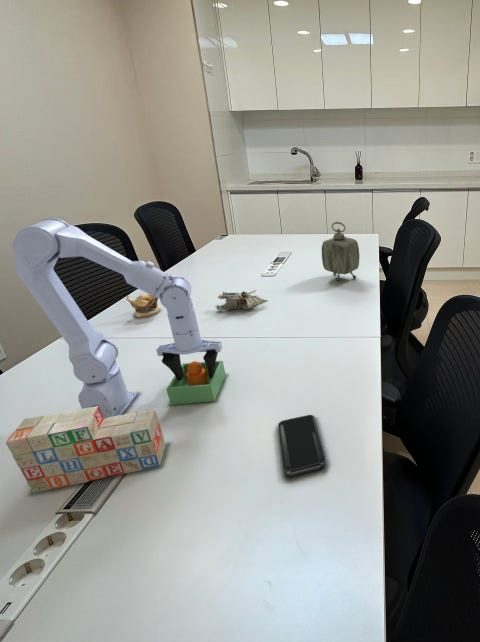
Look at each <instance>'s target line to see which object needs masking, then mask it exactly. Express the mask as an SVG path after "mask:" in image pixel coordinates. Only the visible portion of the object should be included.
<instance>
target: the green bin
mask: <svg viewBox="0 0 480 642" xmlns="http://www.w3.org/2000/svg"><path fill="white" fill-rule="evenodd" d="M198 362H199V363H200V364H201V365H202V368H204V369H205V371H206V376H207V380H208V385H195V386H189V384H188V380H187V376H186V374H187V372H188V371H187V367H188V365H189V364H190V363H191V362H183V363H181V366H182V369H183V374H184V376H183V378H182V380H181V381H178V379H177V378H176V376H175V375H174V376H173V378H172V379H171V381H170V382H169V384H168V386H167V387H166V393H167V396H168V401H169V403H170V406H172V405H173V406H174V405H184V404H197V403H209V402H210V403H211V402H215V401H216V399H217V396H218V394H219V392H220V390H221V387H222V385H223V383H224V381H225V378H226V375H227V374H226V370H225V369H226V368H225V365H224V361H223V360H216V363H215V373H214V375H213V377H212V378H210V377H209V373H208V368H207V365H206V363H205V361H198Z"/></svg>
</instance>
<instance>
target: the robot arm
mask: <svg viewBox="0 0 480 642" xmlns="http://www.w3.org/2000/svg"><path fill="white" fill-rule="evenodd" d="M10 246H11V248H12V249H13V250H14V264H15V265H14V266H15V273H16V274H17V276H18V277H19V279H20V280H21V282H22V283H23V284H24V286H25V287H26V288H27V290H28V291H29V293H30V294H31V296H32V297H33V298H34V300H35V301H36V303H37V304H38V305H39V306H40V308H41V309H42V310H43V312H44V314H45V315H46V317H48V320H50V322H51V323H52V324H53V326H55V329H56V330H57V331H58V333H59V334H60V336H61V337H62V338H63V339H64V341H65V342H66V344H67V345H68V360H69V361H70V363H71V364H72V369H73V375H74V376H75V378H76V379H78V380H79V381H80V382H82V383H83V385H82V389H81V390H80V392H79V394H78V402H79V405H80V407H81V409H84V408H90V407H95V406H99V408H100V410H101V413H102V415H103V419H105V418H108V417H113V416H118V415H124V413H125V411H126V410H127V409H128V407H129V406H130V404H131V403H132V402H133V400H134V399H135V398H136V397H137V395H138V393H137V392H136V391H134V392H128V388H127V385H126V383H125V380H124V377H123V375H122V374H123V373H122V370H121V368H120V366H119V364H118V362H117V360H116V359H117V358H118V356H119V349H118V347H117V346H116V344H115V343H114V342H113V341H110V340H108V339H107V338H106V336H105V335H104V333H102V332H98V331H96V330H95V329H94V328H93V326H92V325H91V324H90V322H89V321H88V319H87V318H86V316H85V315H84V313H83V311H82V310H81V308H80V307H79V306H78V304H77V302H76V300H75V299H74V298H73V296H72V295H71V294H70V292H69V291H68V289H67V287H65V284H63V281H62V280H61V279H60V277H59V276H58V275H57V273H56V271H55V269H54V268H55V266H56V264H57V262H58V260H59V259H64V258H76V257H82V258H85V259H87V260H89V261H91V262H94V263H96V264H99V265H100V266H102V267H105V268H107V269H109V270H112V271H114V272H116V273H119V274H121V275H122V276H123V277H124V279H125V283H126V284H128V285H130V286H132V287H134V288H136V289H138V290H140V291H143V292H144V293H145V294H147V293H148V294H150V295H152V296H154V297H156V298H158V299H159V302H160V303H161V305H162V306H163V307H164V308H166V312H167V313H166V314H167V319H168V323H169V326H170V330H171V334H172V338H173V342H172V343H166V344H161V345H160V344H159V345H158V347H157V348H156V349H155V351H156V353H157V357H162V359H161V363H162V364H163V365H165V366H166V367H167V368H168V369H169V370H170V371H171V372H172V373H173V375H174V376H176V378H177V379H178V381H181V380H182V378H183V376H184V374H183V369H182V366H181V365H182V362H181V355H191V354H196V353H204V356H203V357H202V359H203V362H205V363H206V365H207V368H208V373H209V377H210V378H212V377H213V375H214V373H215V363H216V361H217V358H218V354H219V353H221V351H222V350H223V345H222V341H220V340H219V341H217V340H207V339H202V337H201V333H200V328H199V324H198V320H197V315H196V311H195V308H194V303H193V301H192V297H191V294H192V285H191V284H190V282H189V281H188V280H187V279H185V278H184V277H183V276H179V275H177V276H176V275H174V274H172V273H170V274H168V273H167V272H165V271H163V270H161V269H159V268H157V267H155V263H154V262H152V261H150V260H148V261H147V262H146V261H144V260H133V261H132V260H131V259H129V258H127V257H125V256H124V255H122V254H121V253H118V252H117V251H115V250H113V249H112V248H110V247H108V246H107V245H105V244H103V243H102V242H101V241H98V240H97V239H95V238H93V237H92V236H90V235H88V234H87V233H86V232H84V231H83V230H81V228H79V227H77V226H74V225H71V224H69V223H67V222H66V221H64V220H62V219H60V218H56V217H48V218H45V219H42V220H40V221H39V222H37V223H35V224H32V225H30V226H26V227H23V228H22V229H20V230H18V232H17V234H16V235H15V237H14V238H13V240H12V242H11V243H10Z"/></svg>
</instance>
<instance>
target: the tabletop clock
mask: <svg viewBox="0 0 480 642" xmlns="http://www.w3.org/2000/svg"><path fill="white" fill-rule="evenodd" d="M336 224H337V225H341V226H342V227H343V228H344V229H343V230H341V229H340V228H337V229H335V228H334V225H336ZM331 229H332V230H333V232H335V233H334V234H333V236H332V238H328V239H326V240H323V241H322V245H321V261H322V266H323V269H324V270H325V271H327V272H330V273H332V274H333V275H334V276H337V277H336V281H340V280H341V277H340V275H347V274H350V275H351V276H352V279H353V280H355V279H357V275H355V274H354V273H353V272H354V271H356V270H358V269H359V266H360V248H359V243H358V241H357V240H356V239H354V238H352V237H348V236H345V234H344V232H345V231H346V225H345V224H343V223H342V222H340V221H335V222H333V223H332V224H331Z"/></svg>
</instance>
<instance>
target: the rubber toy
mask: <svg viewBox="0 0 480 642" xmlns="http://www.w3.org/2000/svg"><path fill="white" fill-rule="evenodd" d="M199 362H200V361H195V360H194V361H191V362H189V363H190V364H189V365H188V367H187V371H188V372H187V374H186V376H187V380H188V384H189V386H195V385H208V380H207V376H206V371H205V369H204V368H202V365H201V364H200V363H199Z"/></svg>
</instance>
